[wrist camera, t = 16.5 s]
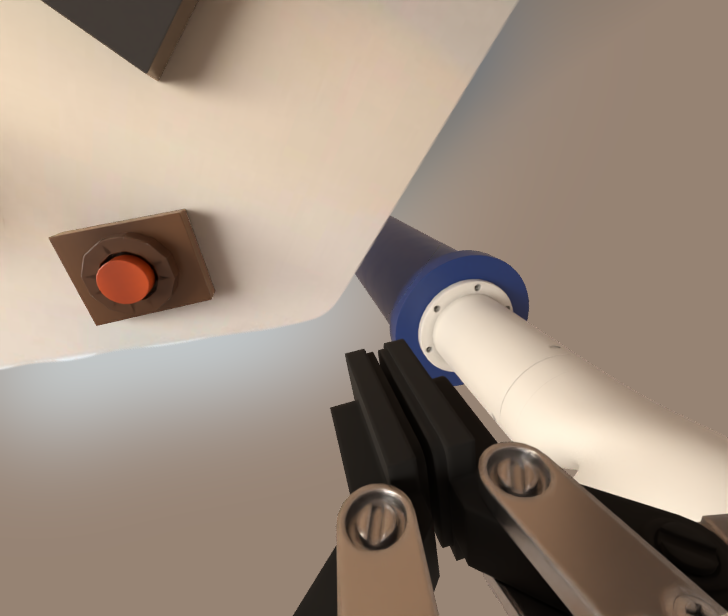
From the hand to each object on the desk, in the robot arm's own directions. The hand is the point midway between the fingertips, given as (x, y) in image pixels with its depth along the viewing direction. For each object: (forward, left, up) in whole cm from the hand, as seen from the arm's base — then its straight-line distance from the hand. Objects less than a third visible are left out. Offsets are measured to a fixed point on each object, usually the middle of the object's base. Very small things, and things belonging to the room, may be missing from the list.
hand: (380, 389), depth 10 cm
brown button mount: (+10, +11, -27) cm, 31 cm away
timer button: (+10, +11, -23) cm, 28 cm away
